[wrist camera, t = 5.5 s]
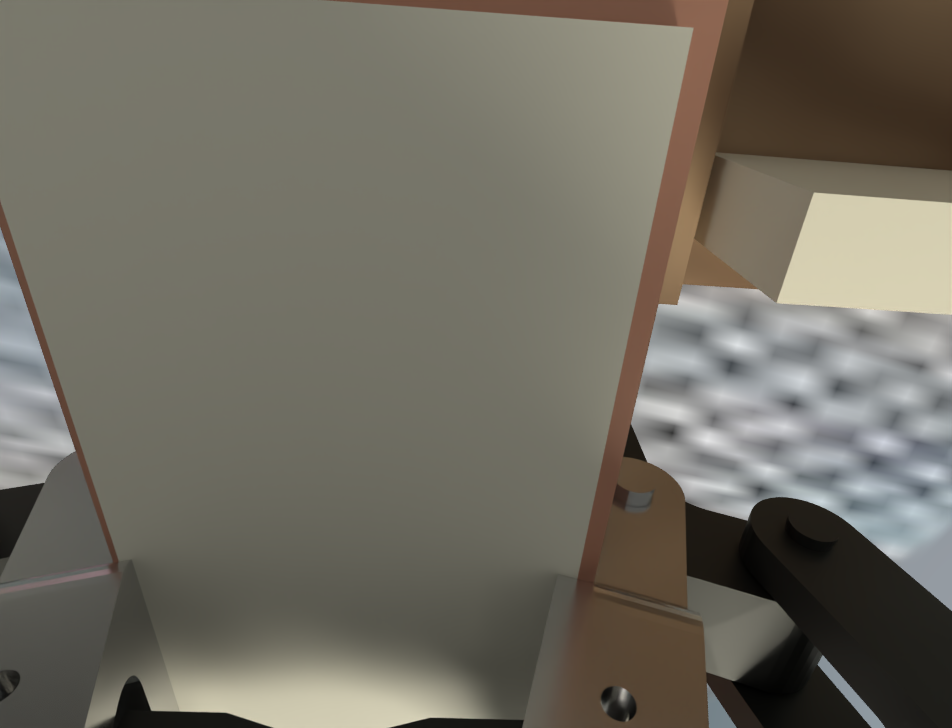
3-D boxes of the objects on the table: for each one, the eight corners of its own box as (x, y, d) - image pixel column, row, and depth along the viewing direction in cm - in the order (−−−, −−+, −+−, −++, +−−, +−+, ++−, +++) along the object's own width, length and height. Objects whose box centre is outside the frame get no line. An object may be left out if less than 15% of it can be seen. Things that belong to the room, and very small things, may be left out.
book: (279, 7, 9) (-146, -83, 3) (559, 28, 9) (750, -13, 3) (326, 549, 15) (220, 921, 9) (498, 556, 15) (520, 923, 9)
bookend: (705, 151, 17) (813, 192, 12) (1003, 174, 17) (1239, 224, 12) (685, 232, 18) (776, 303, 13) (966, 251, 19) (1166, 328, 13)
